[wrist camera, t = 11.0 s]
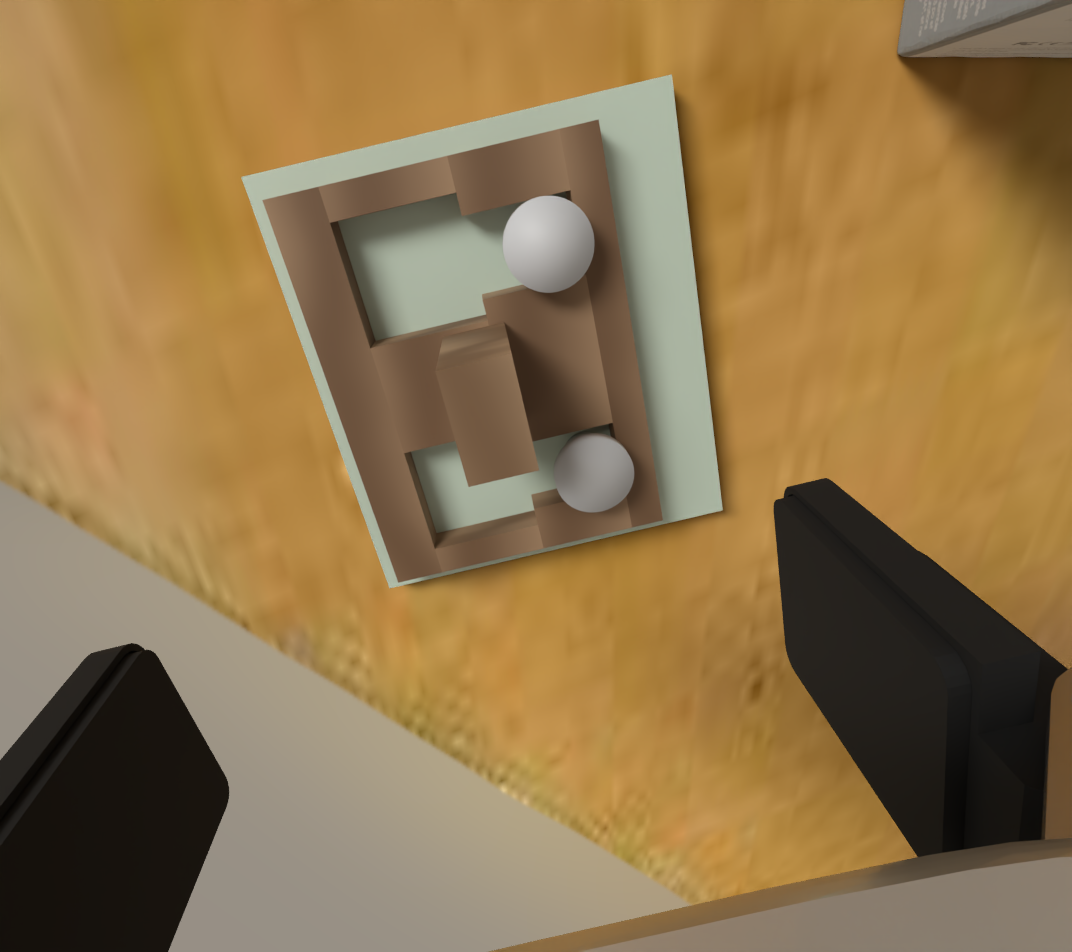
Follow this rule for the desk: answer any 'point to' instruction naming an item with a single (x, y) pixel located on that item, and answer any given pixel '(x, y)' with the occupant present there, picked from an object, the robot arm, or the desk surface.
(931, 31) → the hard drive box
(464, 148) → the board
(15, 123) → the desk surface
